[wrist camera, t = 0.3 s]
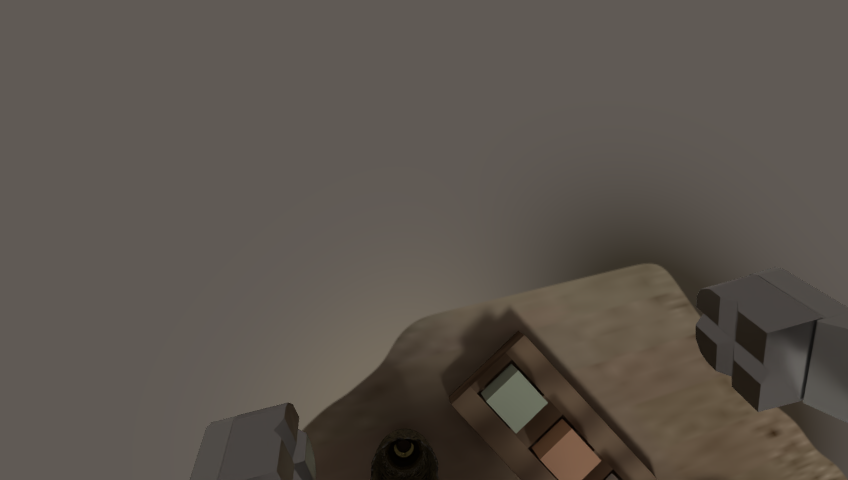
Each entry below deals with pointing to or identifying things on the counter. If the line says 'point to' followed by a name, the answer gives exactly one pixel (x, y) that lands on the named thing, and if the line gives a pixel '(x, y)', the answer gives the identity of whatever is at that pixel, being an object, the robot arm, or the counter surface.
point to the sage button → (513, 398)
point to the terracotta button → (565, 453)
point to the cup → (404, 458)
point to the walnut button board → (542, 417)
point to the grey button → (611, 477)
